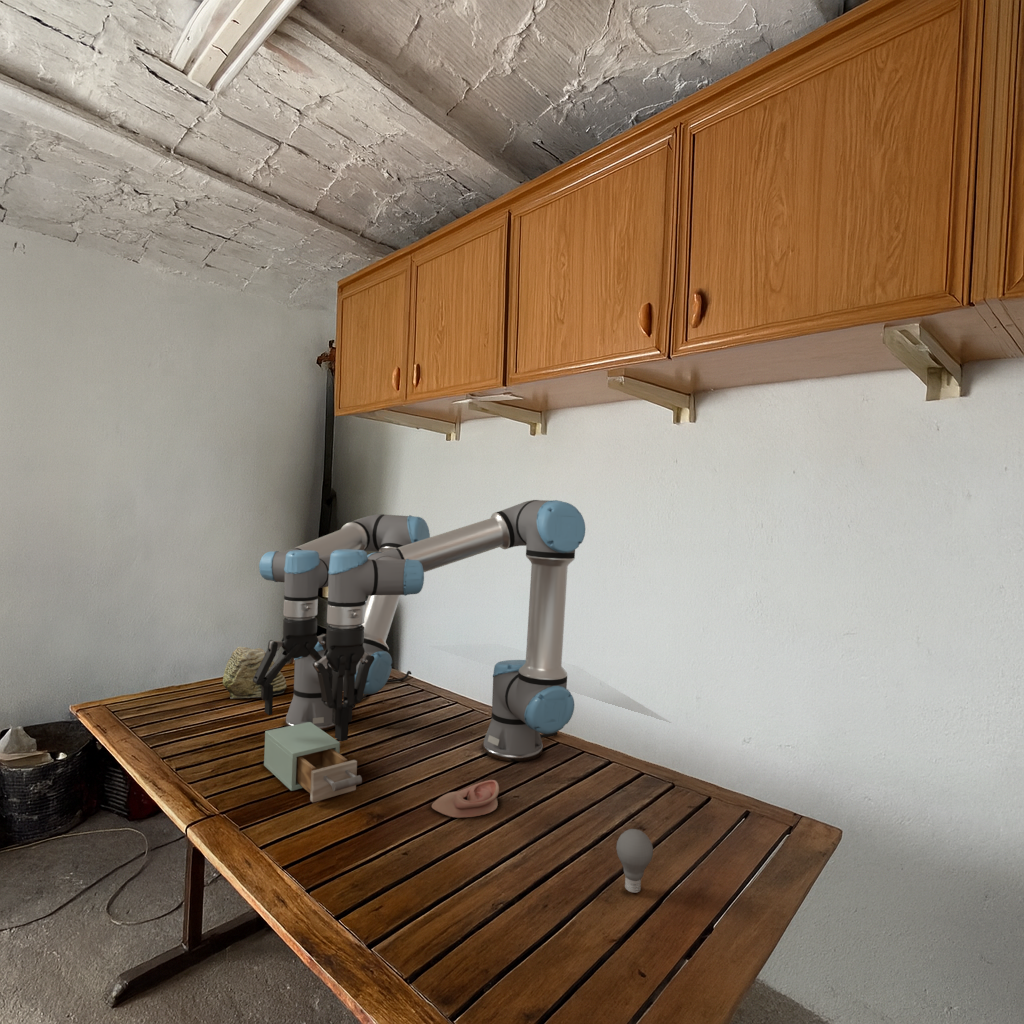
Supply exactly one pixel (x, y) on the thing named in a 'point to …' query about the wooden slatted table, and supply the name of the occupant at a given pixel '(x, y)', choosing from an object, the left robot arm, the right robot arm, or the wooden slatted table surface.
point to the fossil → (248, 674)
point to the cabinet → (294, 749)
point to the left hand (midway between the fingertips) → (297, 707)
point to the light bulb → (634, 857)
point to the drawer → (326, 774)
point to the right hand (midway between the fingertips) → (341, 738)
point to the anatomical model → (469, 800)
